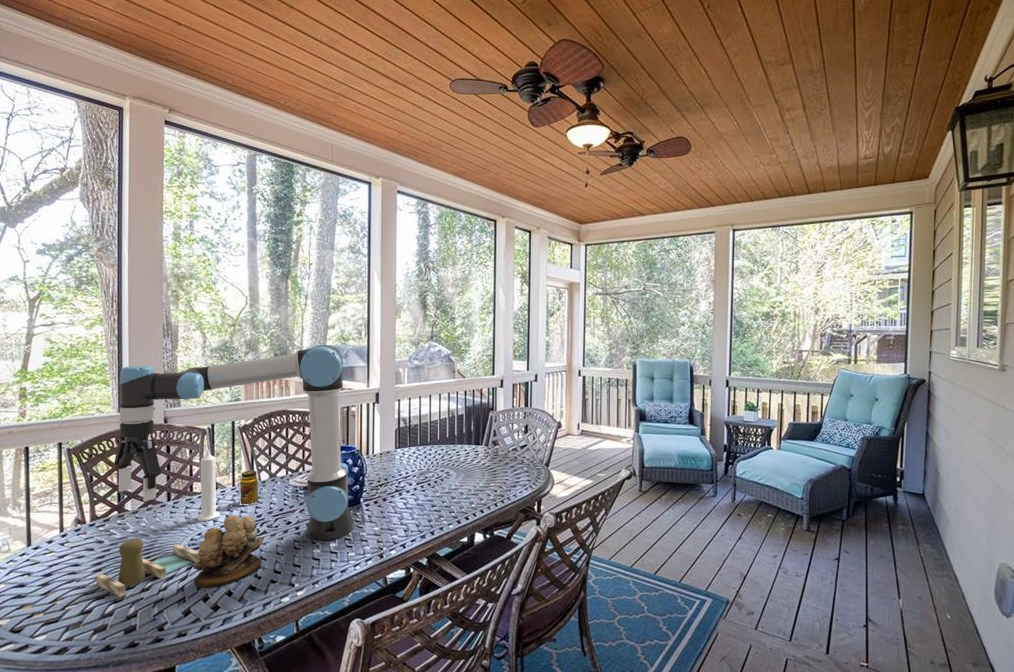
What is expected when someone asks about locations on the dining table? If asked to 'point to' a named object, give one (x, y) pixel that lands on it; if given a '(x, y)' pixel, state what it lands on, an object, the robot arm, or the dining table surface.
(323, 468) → the robot arm
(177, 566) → the notched rack
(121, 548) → the olive pawn
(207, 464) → the candle
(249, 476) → the condiment
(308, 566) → the dining table surface
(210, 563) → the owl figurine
